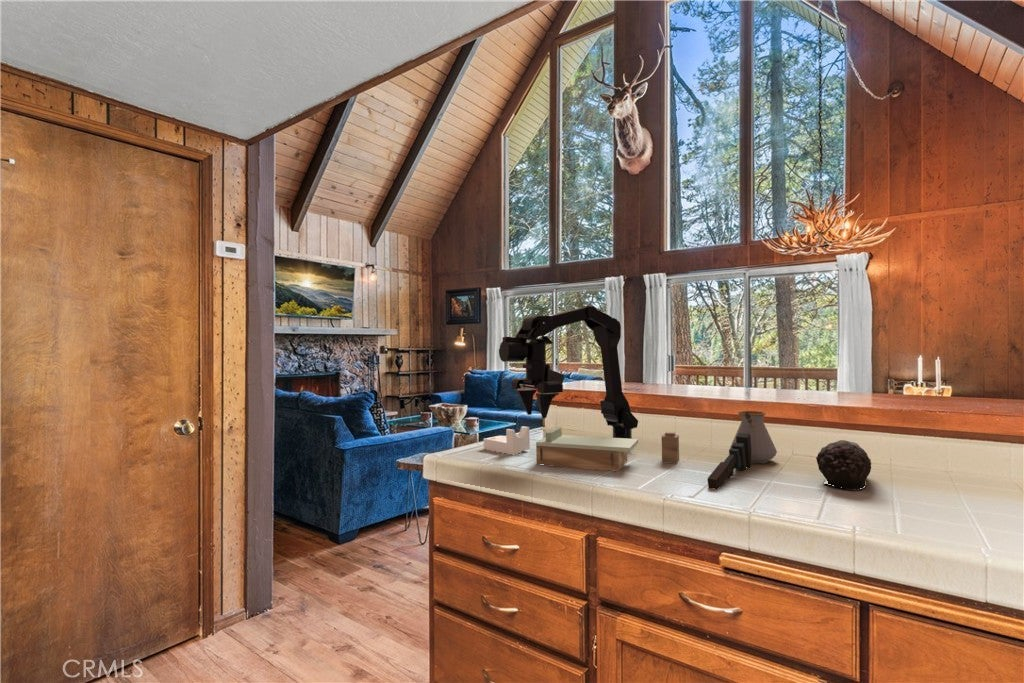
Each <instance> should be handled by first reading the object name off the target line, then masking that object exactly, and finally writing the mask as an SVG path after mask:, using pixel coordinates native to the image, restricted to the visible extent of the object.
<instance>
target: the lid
mask: <svg viewBox="0 0 1024 683" xmlns="http://www.w3.org/2000/svg"><path fill="white" fill-rule="evenodd" d="M562 433H563V432H562V427H560V426H559V427H554V428H551V429H549V430H548V431H545V437H543V438H540V439H539V440H537V441H536V442H535V445H536V446H546V447H562V448H577V449H593V450H608V451H624V452H627V453H630V452H632V450H633V449H634V448H635V447H636V446H637V445H638V443H639V438H632V439H627V438H613V437H607V436H606V437H604V436H589V435H588V436H587V435H569V434H562ZM536 446H535V447H536Z"/></svg>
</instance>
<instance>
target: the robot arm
mask: <svg viewBox="0 0 1024 683" xmlns="http://www.w3.org/2000/svg"><path fill="white" fill-rule="evenodd" d="M582 321H583V322H584V324H585V325H586V327H587V328H589V329H590V330H591V331H592V333H593V336H594V340H595V342H596V344H598V346H599V348H600V353H601V354H600V355H601V362H602V370H603V377H604V378H603V379H604V385H605V386H604V387H605V396H604V399H603V400H600V402H599V404H600V414H602V417H603V419H605V421H606V425H607V426H611V427H612V438H627V439H633V438H632V436H633V435H632V434H633V431H632V430H633V429H636V428H638V424H639V420H638V419H637V417H635V416H634V414H633V413H632V409H631V408H630V403H629V401H628V399H627V398H626V396H625V394H624V392H623V386H622V377H621V371H620V370H621V368H620V359H619V353H618V352H619V351H618V345H619V342H620V341H621V337H622V336H621V334H622V331H621V330H622V326H621V322H620V321H619V320H618V319H617V318H615V317H612V316H610V314H607V313H605V312H603V311H602V310H599V309H598V308H596V307H595V306H593V305H584V306H583V305H582V306H580V307H578V308H574V309H570V310H565V311H562V312H558V313H555V314H554V313H553V314H549V315H548V314H544V315H531V316H527V317H525V318H524V319H523V321H522V324H521V327H520V328H519V330H518V332H517V334H516V335H515V337H513V336H503V337H502V341H501V343H500V345H499V349H498V355H499V359H500V361H502V362H504V363H505V362H507V363H508V362H510V363H511V362H523V361H524V360H525V364H524V363H523V364H522V368H523V369H525V378H514V379H513V380H512V381H511V389H513V390H514V391H515V393H516V394H517V397H518V398H519V399H520V401H521V404H522V406H523V407H524V408H523V409H525V412H526V414H527V415H528V416H530V415H531V416H532V414H533V402H534V401H533V400H534V395H535V397H536V400H537V405H538V408H539V412H540V415H541V418H542V419H547V417H548V413H549V410H550V406H551V403H552V401H553V399H554V398H555V397H556V396H558V395H559V394H560V393H563V392H564V385H563V383H564V379H565V374H563V373H561V372H558V371H555V370H554V369H551V366H550V364H549V363H547V349H546V348H547V347H546V346H547V345H552V344H553V343H554V342H553V341H552V340H551V339H550V338H549V337H548V334H550V333H552V332H553V331H554V330H556V329H558V328H561V327H565V326H568V325H572V324H574V323H578V322H582ZM539 337H540V338H539ZM528 341H529V342H528Z"/></svg>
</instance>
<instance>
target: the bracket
mask: <svg viewBox="0 0 1024 683" xmlns="http://www.w3.org/2000/svg"><path fill="white" fill-rule="evenodd" d="M505 432H506V435H495V436H491V437H486V438H483V450H485V449H487V450H486V451H490V450H491V451H490V452H494V451H496V453H499V452H502V453H501V454H504V453H508V454H507V455H509V454H516V455H518V454H517V453H521V454H522V451H523V452H524V451H528V450H530V448H531V445H530V444H531V442H530V440H531V439H530V438H531V437H530V426H523V425H522V426H520V430H519V433H518V434H516V431H515V429H510V428H507V429H505Z"/></svg>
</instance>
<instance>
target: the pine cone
mask: <svg viewBox="0 0 1024 683" xmlns="http://www.w3.org/2000/svg"><path fill="white" fill-rule="evenodd" d="M815 459H816V464H817V467H818V470H819V472H820V473H821V474H822V475H823V477H824V478H825V480H826V479H827V481H828V484H831V485H834V486H835V487H834V488H836V487H842V488H845V489H844V490H849V491H859V490H858V489H860V488H863V487H864V486H865V481H866V480H867V478H868V477H869V475H870V473H871V470H872V461H871V459H870V457H869V456H868V453H867V452H866V451H865V450H864V448H862V447H860V444H859V443H856V442H854V441H850V440H849V441H848V440H845V439H840V440H837V441H835V442H830V443H828V444H827V445H826V446H824V447H823V446H822V447H821V449H820V451H819V452H818V453H817V456H816V458H815ZM866 482H867V481H866ZM842 488H841V489H842Z"/></svg>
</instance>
